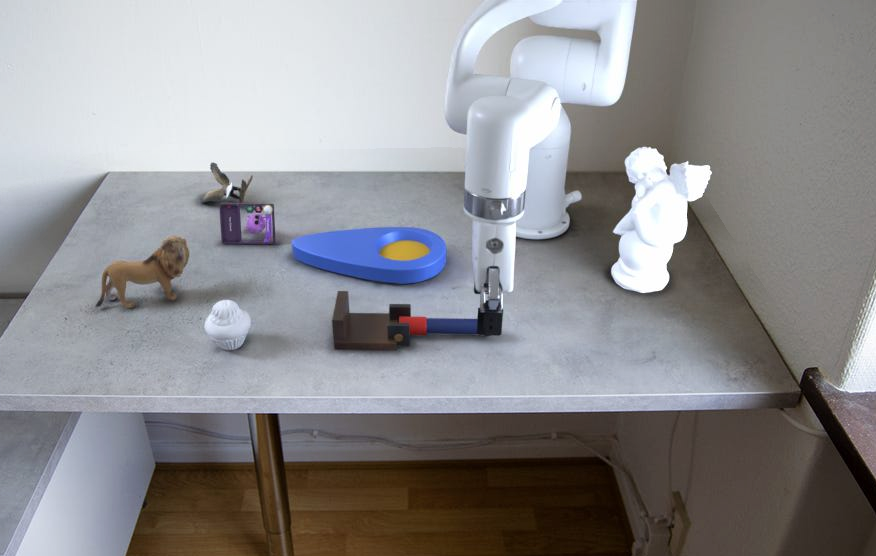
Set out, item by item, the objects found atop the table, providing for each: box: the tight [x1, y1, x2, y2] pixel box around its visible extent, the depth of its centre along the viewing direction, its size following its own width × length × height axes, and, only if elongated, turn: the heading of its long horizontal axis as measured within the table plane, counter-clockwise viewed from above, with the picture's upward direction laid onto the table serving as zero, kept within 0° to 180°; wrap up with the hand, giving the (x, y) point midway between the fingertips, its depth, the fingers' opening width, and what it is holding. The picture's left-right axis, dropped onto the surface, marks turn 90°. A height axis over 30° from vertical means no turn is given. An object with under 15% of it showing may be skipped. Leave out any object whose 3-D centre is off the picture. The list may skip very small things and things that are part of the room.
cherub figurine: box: [610, 146, 713, 294], centre depth 113 cm, size 12×12×22 cm
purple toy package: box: [218, 202, 277, 245], centre depth 129 cm, size 7×5×9 cm
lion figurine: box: [95, 235, 190, 309], centre depth 113 cm, size 15×5×9 cm, turn 116°
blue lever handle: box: [399, 316, 491, 337], centre depth 107 cm, size 14×3×3 cm, turn 88°
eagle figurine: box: [199, 162, 254, 204], centre depth 139 cm, size 8×7×9 cm
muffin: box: [204, 299, 252, 351], centre depth 105 cm, size 6×6×7 cm
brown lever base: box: [331, 290, 412, 351], centre depth 107 cm, size 10×7×5 cm
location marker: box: [291, 226, 447, 285], centre depth 123 cm, size 13×3×25 cm
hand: (487, 312), depth 105 cm, fingers open, 9 cm apart
